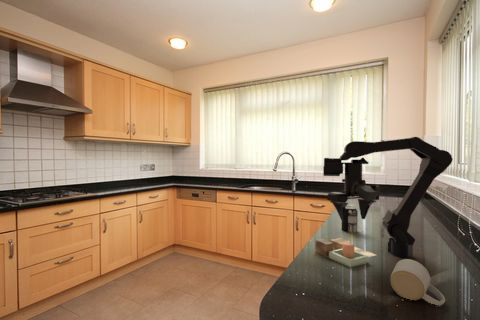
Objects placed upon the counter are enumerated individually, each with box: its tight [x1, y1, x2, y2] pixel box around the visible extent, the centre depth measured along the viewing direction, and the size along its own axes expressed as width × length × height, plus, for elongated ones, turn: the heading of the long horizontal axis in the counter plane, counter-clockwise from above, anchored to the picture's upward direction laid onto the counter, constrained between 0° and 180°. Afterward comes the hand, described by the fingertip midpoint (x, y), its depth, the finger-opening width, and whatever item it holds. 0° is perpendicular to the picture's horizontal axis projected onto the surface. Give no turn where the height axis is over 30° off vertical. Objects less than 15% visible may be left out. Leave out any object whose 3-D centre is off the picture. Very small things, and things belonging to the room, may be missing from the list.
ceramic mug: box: [389, 258, 446, 306], centre depth 60 cm, size 11×8×8 cm
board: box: [314, 246, 377, 261], centre depth 84 cm, size 12×16×2 cm
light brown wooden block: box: [329, 237, 353, 250], centre depth 87 cm, size 5×5×3 cm
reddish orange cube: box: [342, 243, 355, 259], centre depth 78 cm, size 4×4×4 cm
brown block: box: [314, 238, 333, 258], centre depth 83 cm, size 5×3×4 cm, turn 27°
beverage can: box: [340, 205, 359, 234], centre depth 111 cm, size 7×7×12 cm
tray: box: [328, 249, 369, 268], centre depth 78 cm, size 8×8×2 cm
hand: (353, 220), depth 88 cm, fingers open, 9 cm apart
